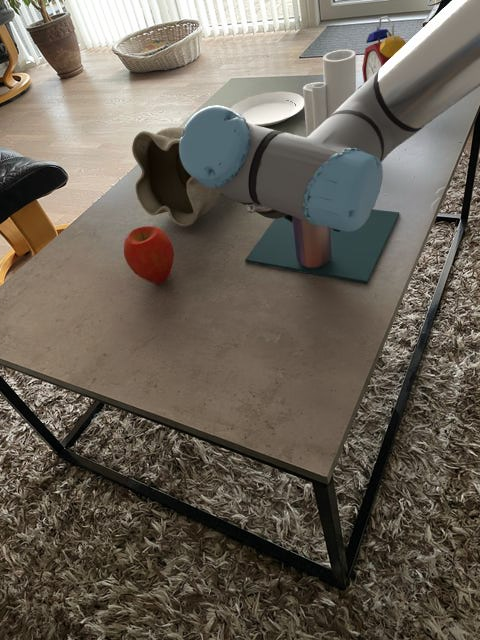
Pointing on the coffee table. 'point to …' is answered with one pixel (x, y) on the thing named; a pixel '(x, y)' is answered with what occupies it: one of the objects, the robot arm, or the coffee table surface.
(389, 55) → the alarm clock
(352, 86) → the vase
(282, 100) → the plate
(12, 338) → the coffee table surface
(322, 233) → the beverage can
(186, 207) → the vase
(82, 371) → the coffee table surface
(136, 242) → the apple
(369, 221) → the mat
